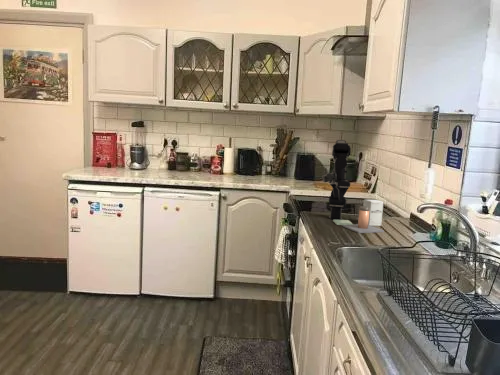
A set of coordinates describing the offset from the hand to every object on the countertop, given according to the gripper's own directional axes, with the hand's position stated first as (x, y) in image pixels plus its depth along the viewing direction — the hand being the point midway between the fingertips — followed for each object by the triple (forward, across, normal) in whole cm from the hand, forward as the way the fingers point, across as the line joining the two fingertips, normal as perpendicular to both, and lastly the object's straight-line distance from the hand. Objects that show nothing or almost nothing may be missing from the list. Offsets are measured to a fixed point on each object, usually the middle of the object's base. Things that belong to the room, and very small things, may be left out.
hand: (337, 199), depth 219 cm
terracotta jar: (+12, +7, +12) cm, 18 cm away
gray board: (+13, +7, +12) cm, 19 cm away
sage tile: (+13, -5, +5) cm, 15 cm away
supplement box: (+13, -5, +20) cm, 24 cm away
